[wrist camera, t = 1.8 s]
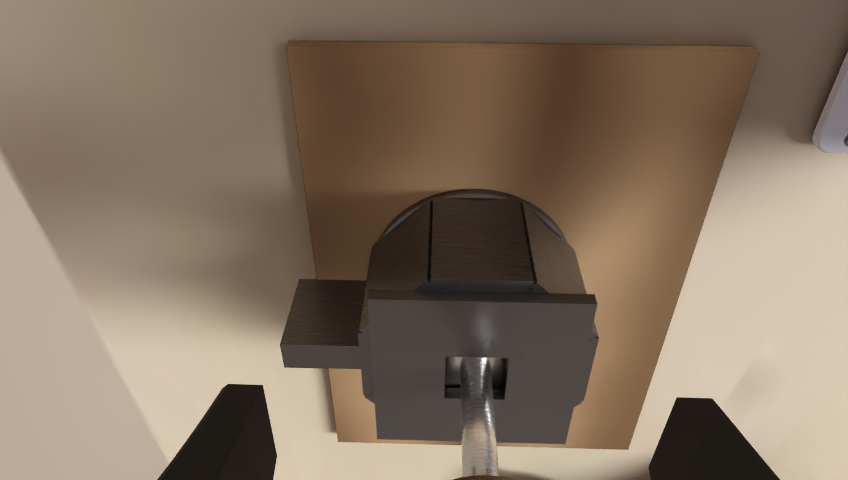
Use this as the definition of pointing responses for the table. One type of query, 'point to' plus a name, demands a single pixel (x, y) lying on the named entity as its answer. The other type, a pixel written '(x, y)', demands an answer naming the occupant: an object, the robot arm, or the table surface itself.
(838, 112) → the robot arm
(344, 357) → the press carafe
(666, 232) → the walnut board
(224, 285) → the table surface
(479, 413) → the plunger
